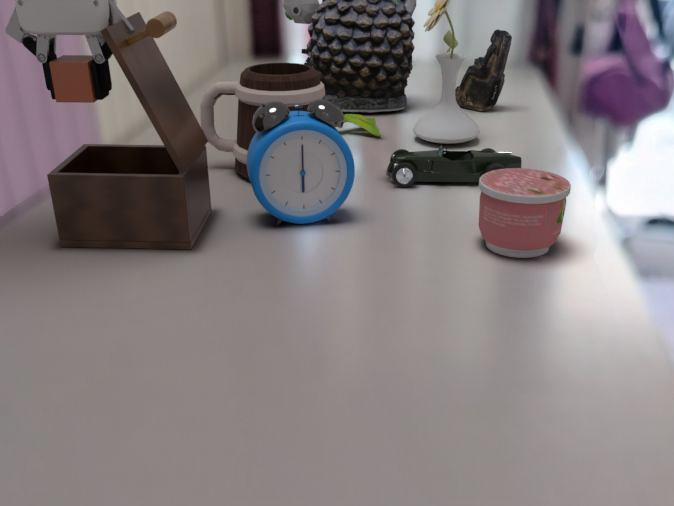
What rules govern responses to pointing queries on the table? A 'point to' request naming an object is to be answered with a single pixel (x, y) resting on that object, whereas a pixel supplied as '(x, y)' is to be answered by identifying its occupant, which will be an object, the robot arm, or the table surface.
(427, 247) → the table surface
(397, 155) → the toy car
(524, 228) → the container
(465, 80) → the statue
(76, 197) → the chest
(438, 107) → the flower in vase
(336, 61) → the pine cone sculpture
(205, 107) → the mug
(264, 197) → the alarm clock
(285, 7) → the robot
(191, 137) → the lid
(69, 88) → the block
